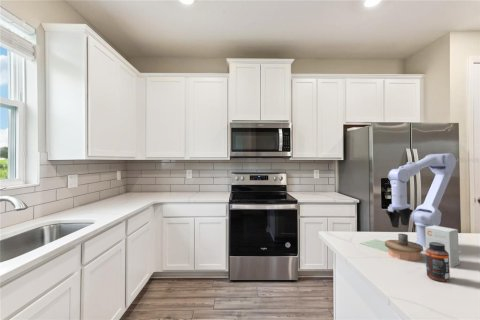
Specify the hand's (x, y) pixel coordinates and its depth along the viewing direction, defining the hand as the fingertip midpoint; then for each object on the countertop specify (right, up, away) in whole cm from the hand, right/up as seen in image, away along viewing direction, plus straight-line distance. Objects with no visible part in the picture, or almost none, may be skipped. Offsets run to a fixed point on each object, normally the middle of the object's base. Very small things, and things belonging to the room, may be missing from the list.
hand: (399, 226), depth 110 cm
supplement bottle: (-7, -10, -29) cm, 31 cm away
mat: (-7, -10, +3) cm, 13 cm away
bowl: (-5, -10, -10) cm, 15 cm away
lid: (-5, -7, -10) cm, 13 cm away
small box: (+6, -10, -16) cm, 20 cm away
